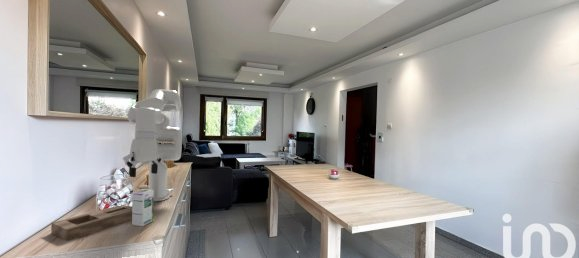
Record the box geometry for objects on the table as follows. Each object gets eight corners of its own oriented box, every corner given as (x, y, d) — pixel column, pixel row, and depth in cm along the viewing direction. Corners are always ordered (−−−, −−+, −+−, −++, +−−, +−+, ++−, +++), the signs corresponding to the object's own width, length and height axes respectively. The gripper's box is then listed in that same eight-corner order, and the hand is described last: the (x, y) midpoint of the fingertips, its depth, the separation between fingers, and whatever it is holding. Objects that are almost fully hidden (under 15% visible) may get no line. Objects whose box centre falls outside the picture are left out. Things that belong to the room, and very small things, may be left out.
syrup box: (143, 226, 102) (144, 192, 102) (131, 225, 103) (132, 191, 103) (153, 221, 107) (154, 189, 107) (141, 220, 109) (143, 188, 108)
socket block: (51, 233, 93) (51, 223, 93) (122, 212, 116) (122, 204, 116) (67, 240, 88) (67, 229, 88) (137, 217, 111) (138, 208, 111)
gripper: (157, 135, 114) (156, 171, 114) (119, 135, 98) (117, 177, 98) (168, 136, 111) (167, 173, 111) (130, 136, 95) (128, 179, 95)
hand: (143, 175), depth 105 cm, fingers open, 9 cm apart
